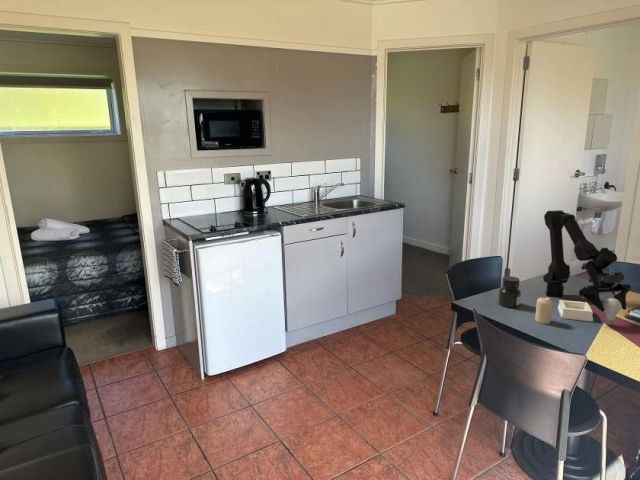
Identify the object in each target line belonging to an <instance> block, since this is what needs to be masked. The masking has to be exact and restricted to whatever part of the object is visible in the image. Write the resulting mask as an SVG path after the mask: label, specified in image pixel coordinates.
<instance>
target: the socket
mask: <svg viewBox="0 0 640 480" xmlns="http://www.w3.org/2000/svg"><path fill="white" fill-rule="evenodd" d="M558 301H559V302H558V305H557V310H558V313H559V315H560V318H561V319H567V320H573V321H585V322H593V320H594V318H593V314H594V312H593V310H592V308H591V306H590V305H589V303H588V302H586V301H585V302H583V301H575V300H564V299H559V300H558Z"/></svg>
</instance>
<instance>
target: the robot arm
mask: <svg viewBox="0 0 640 480" xmlns="http://www.w3.org/2000/svg"><path fill="white" fill-rule="evenodd" d="M543 218H544V223H545V226H546V227H547V229H548V230H549V241H550V242H549V243H550V250H551V251H550V254H551V256H550V257H551V262H550V263H549V266H548V267H547V273H545V274H544V275H543V276H542V278H543V279H542V280H543V282H545V283H546V288H545V290H544V294H545V295H546V297H552V298H553V297H554V298H563V295H564V292H565V291H564V289H565V286H564V284H567V282H568V280H569V279H570V275H571V271H570V270H571V267H570V264H567V263H566V261H565V258H564V257H565V256H564V253H565V252H564V240H563V228H565V230H566V232H567V234H568V236H569V238H570V239H571V241H572V243H573V245H574V248H573V252H574V254H575V257H576V259H577V260H578V261H581V262H583V263H582V266H581V268H580V269H581V270H582V271H583V270H584V271H586V273H587V275H588V277H589V279H588V282H589V283H592V285H584V287H583V288H581V289H580V290H579V291H578V295H579V297H580V298H581V299H584V300H587V301H588V302H589V303H591V304H592V305H593V306H595V307H596V308H597V309H598V310H599V311H601V312H602V313H603V312H604V313H605V310H604V307H603V302H602V301H601V298H600V294H601V293H603V294H604V293H612V295H613V298H615V299H617V300H619V301H620V303H621V305H622V308H621V310H623V311H625V310H627V300H626V299H627V293H629V292H630V290H632V287H631V285H630V283H627V282H625V283H624V282H623V283H622V281H624V280H625V276H624V273H623V272H622V271H618V272H614V274H609V273H608V272H605V269H608V268H609V267H610V266H612V265H613V264H614V263H615V262H617V260H618V256H617V254H616V253H615V252H614V251H612V250H610V249H609V248H608V247H602V248H601V249H600V250H599V249H597V247H596V246H595V245H594V244H593V242H591V241H589V240H588V239H587V238H586V236H585V234H584V233H583V231H582V229H581V227H580V225H579V224H578V221H576V216H575V214H571V213H569V212H564V210H560V209H559V210H547V211H546V212H545V213H544V216H543ZM584 261H585V262H584ZM616 283H618V284H616Z"/></svg>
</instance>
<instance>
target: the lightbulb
mask: <svg viewBox="0 0 640 480" xmlns="http://www.w3.org/2000/svg"><path fill="white" fill-rule="evenodd" d="M602 304H603V307H604V310H605V311H604V313H605V323H606V324H607V325H609V326H612V325H614V322H615V321H616V317H617V315H618V313H620V311H621V310H622V305H621V303H620V301H619V300H617V299H615V298H614V297H608V298H606V299H605V300H604V301H603V302H602Z"/></svg>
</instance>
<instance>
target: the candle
mask: <svg viewBox="0 0 640 480" xmlns="http://www.w3.org/2000/svg"><path fill="white" fill-rule="evenodd" d="M552 311H553V301H552V300H551V298H550V297H544V296H540V297H539V298H538V299H537V300H536V308H535V316H534V317H535V318H534V320H535V322H537V323H539V324H545V325H547V324H550V323H551V321H552V320H551V319H552Z"/></svg>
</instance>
